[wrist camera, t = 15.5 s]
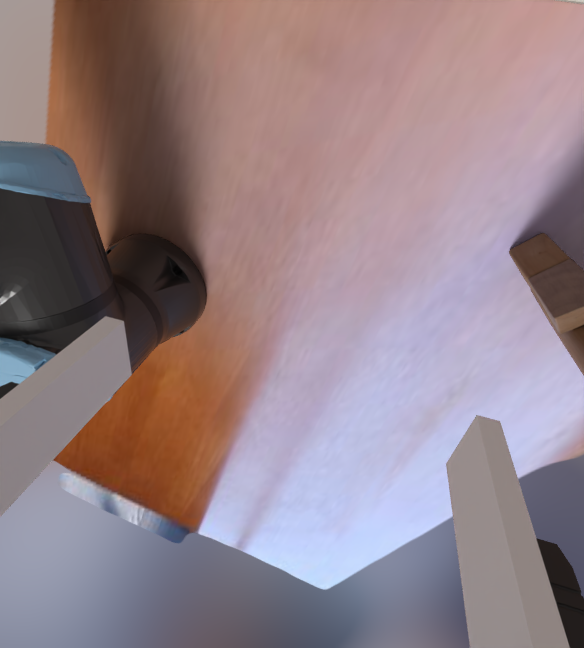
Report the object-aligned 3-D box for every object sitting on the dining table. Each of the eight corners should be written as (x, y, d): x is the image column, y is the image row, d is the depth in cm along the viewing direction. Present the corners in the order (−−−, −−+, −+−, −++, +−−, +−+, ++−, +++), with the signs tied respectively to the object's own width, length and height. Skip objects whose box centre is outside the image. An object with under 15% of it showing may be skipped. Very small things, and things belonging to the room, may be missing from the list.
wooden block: (543, 230, 37) (638, 323, 23) (585, 308, 40) (692, 434, 26) (506, 250, 39) (571, 348, 24) (548, 322, 42) (629, 448, 28)
